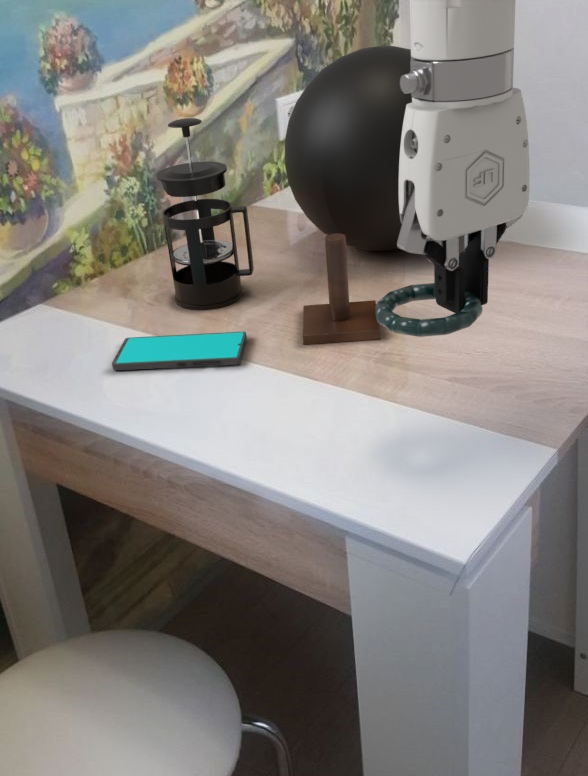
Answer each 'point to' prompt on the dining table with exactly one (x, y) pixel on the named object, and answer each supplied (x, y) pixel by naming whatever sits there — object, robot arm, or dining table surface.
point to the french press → (202, 233)
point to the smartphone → (180, 351)
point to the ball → (351, 147)
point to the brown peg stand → (339, 304)
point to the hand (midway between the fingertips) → (461, 303)
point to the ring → (424, 325)
